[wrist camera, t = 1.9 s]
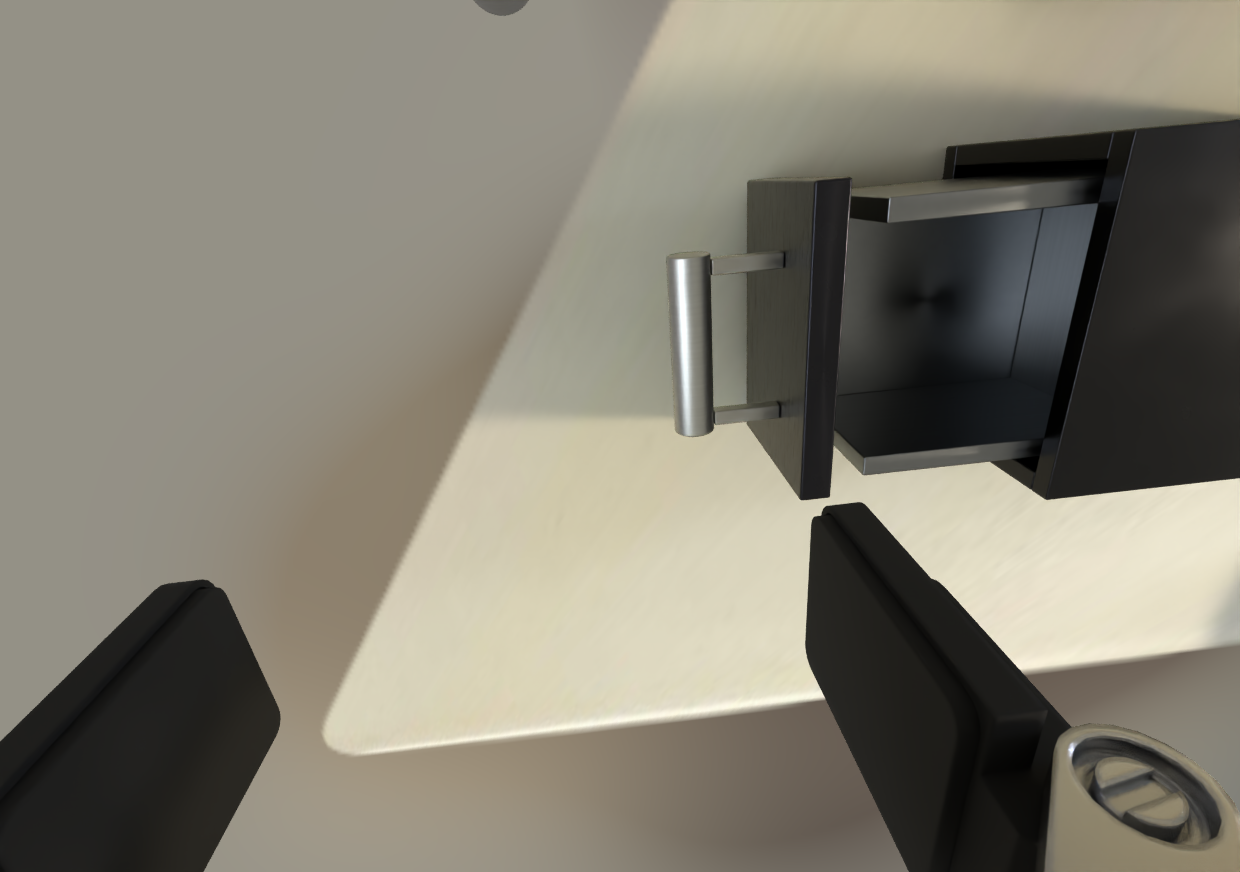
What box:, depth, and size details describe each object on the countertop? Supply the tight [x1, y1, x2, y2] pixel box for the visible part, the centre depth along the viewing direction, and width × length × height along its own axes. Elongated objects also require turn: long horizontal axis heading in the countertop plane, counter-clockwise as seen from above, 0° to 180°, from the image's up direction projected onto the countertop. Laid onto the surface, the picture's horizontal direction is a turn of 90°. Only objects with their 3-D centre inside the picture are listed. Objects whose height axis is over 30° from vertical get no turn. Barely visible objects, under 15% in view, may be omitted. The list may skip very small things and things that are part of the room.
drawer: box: [666, 168, 1106, 500], centre depth 24 cm, size 18×11×8 cm, turn 95°
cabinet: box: [943, 119, 1240, 500], centre depth 24 cm, size 15×13×10 cm
